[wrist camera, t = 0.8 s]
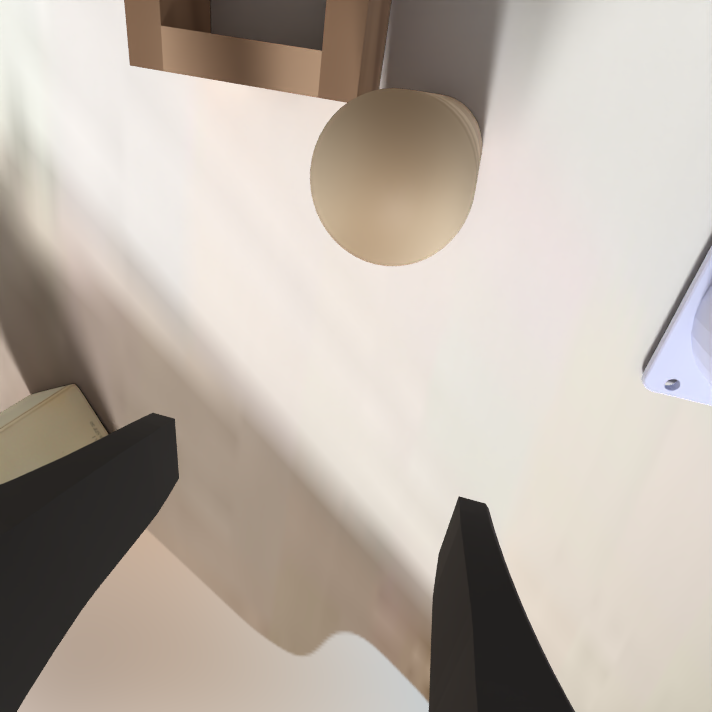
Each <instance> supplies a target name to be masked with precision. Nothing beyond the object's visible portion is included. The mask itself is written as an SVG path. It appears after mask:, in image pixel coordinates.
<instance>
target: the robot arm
mask: <svg viewBox="0 0 712 712" xmlns="http://www.w3.org/2000/svg"><path fill="white" fill-rule="evenodd" d="M670 379H676V380H677V381H676V382H675V383H674V384H672V385H665V383H666V382H667V381H668V380H670ZM642 382H643V384H644V386H645V387H646V388H647V389H648V390H650V391H652V392H656V393H660V394H665V395H669V396H673V397H677V398H681V399H685V400H689V401H694V402H698V403H702V404H706V405H710V406H712V246H711V248H710V250H709V251H708V253H707V255H706V257H705V259H704V261H703V263H702V264H701V266H700V268H699V270H698V272H697V274H696V276H695V277H694V279H693V281H692V283H691V285H690V287H689V289H688V291H687V292H686V294H685V296H684V298H683V300H682V302H681V304H680V305H679V307H678V309H677V311H676V313H675V315H674V317H673V318H672V320H671V322H670V324H669V326H668V328H667V330H666V331H665V333H664V335H663V337H662V339H661V341H660V343H659V345H658V346H657V348H656V350H655V352H654V354H653V356H652V358H651V359H650V361H649V363H648V365H647V367H646V369H645V371H644V372H643V375H642ZM178 479H179V472H178V458H177V444H176V430H175V419H173V418H170V417H166V416H162V415H159V414H155V413H152V414H149V415H147V416H145V417H143V418H141V419H139V420H137V421H135V422H133V423H131V424H129V425H127V426H125V427H123V428H121V429H119V430H117V431H115V432H113V433H111V434H109V435H107V436H105V437H103V438H101V439H99V440H97V441H95V442H93V443H91V444H89V445H86V446H84V447H82V448H80V449H78V450H76V451H74V452H72V453H70V454H68V455H66V456H64V457H62V458H60V459H57V460H55V461H53V462H51V463H48V464H46V465H44V466H42V467H40V468H37V469H35V470H33V471H31V472H28V473H26V474H24V475H22V476H20V477H17V478H15V479H13V480H10V481H8V482H5V483H3V484H0V712H17V710H18V709H19V707H20V705H21V703H22V702H23V700H24V699H25V697H26V695H27V694H28V692H29V690H30V689H31V687H32V686H33V684H34V683H35V681H36V679H37V678H38V676H39V675H40V673H41V671H42V670H43V668H44V667H45V665H46V664H47V662H48V660H49V659H50V657H51V656H52V654H53V652H54V651H55V649H56V648H57V646H58V645H59V643H60V642H61V640H62V639H63V637H64V636H65V634H66V632H67V631H68V629H69V628H70V627H71V625H72V624H73V622H74V621H75V619H76V618H77V616H78V615H79V613H80V612H81V610H82V609H83V607H84V606H85V605H86V603H87V602H88V601H89V599H90V598H91V597H92V595H93V594H94V593H95V591H96V590H97V589H98V588H99V586H100V585H101V584H102V582H103V581H104V580H105V579H106V577H107V576H108V575H109V574H110V572H111V571H112V570H113V569H114V568H115V566H116V565H117V564H118V562H119V561H120V560H121V559H122V557H123V556H124V555H125V554H126V553H127V551H128V550H129V549H130V548H131V546H132V545H133V544H134V543H135V541H136V540H137V539H138V538H139V536H140V535H141V534H142V533H143V531H144V530H145V529H146V528H147V526H148V525H149V524H150V522H151V521H152V520H153V519H154V517H155V516H156V515H157V513H158V512H159V510H160V509H161V507H162V505H163V504H164V502H165V501H166V499H167V498H168V496H169V494H170V492H171V491H172V489H173V487H174V486H175V484H176V482H177V481H178ZM429 712H575V711H574V709H573V707H572V706H571V704H570V702H569V700H568V699H567V697H566V695H565V693H564V691H563V689H562V687H561V685H560V683H559V682H558V680H557V678H556V676H555V674H554V672H553V670H552V668H551V666H550V664H549V662H548V660H547V658H546V656H545V654H544V652H543V650H542V648H541V646H540V644H539V641H538V639H537V637H536V635H535V633H534V630H533V628H532V626H531V624H530V622H529V620H528V617H527V615H526V613H525V610H524V608H523V606H522V603H521V601H520V598H519V596H518V593H517V591H516V588H515V586H514V583H513V581H512V578H511V576H510V573H509V570H508V568H507V565H506V562H505V560H504V557H503V554H502V551H501V548H500V545H499V542H498V539H497V536H496V533H495V530H494V526H493V523H492V519H491V516H490V512H489V508H488V507H487V505H486V504H485V503H481V502H477V501H474V500H470V499H466V498H463V497H459V498H458V500H457V503H456V506H455V509H454V512H453V515H452V518H451V521H450V523H449V526H448V529H447V532H446V535H445V538H444V541H443V543H442V546H441V549H440V552H439V557H438V564H437V570H436V577H435V585H434V593H433V606H432V634H431V666H430V697H429Z"/></svg>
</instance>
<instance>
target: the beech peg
mask: <svg viewBox="0 0 712 712" xmlns="http://www.w3.org/2000/svg"><path fill="white" fill-rule="evenodd" d="M481 154H482V137H481V132H480V128H479V125H478V123H477V121H476V119H475V117H474V116H473V114H472V113H471V111H470V110H469V109H468V108H467V107H466V106H465V105H464V104H462V103H461V102H460V101H458V100H456V99H454V98H452V97H450V96H446V95H442V94H435V93H429V92H422V91H416V90H409V89H400V88H386V89H379V90H374V91H370V92H368V93H365V94H363V95H360V96H358V97H356V98H355V99H353V100H351V101H349V102H348V103H347V104H345V105H344V106H343V107H342V108H340V109H339V110H338V111H337V112H336V113H335V114H334V115H333V116H332V118H331V119H330V120H329V122H328V123H327V124H326V126H325V127H324V129H323V131H322V133H321V134H320V136H319V138H318V141H317V143H316V146H315V149H314V153H313V156H312V162H311V169H310V184H311V193H312V198H313V202H314V205H315V208H316V211H317V214H318V216H319V218H320V220H321V222H322V224H323V226H324V227H325V229H326V230H327V232H328V233H329V234H330V235H331V237H332V238H333V239H334V240H335V241H336V242H337V243H338V244H339V245H340V246H341V247H342V248H344V249H345V250H346V251H347V252H349V253H350V254H352V255H354V256H356V257H357V258H360V259H362V260H364V261H366V262H370V263H373V264H377V265H384V266H402V265H408V264H413V263H416V262H419V261H422V260H424V259H427V258H428V257H430V256H432V255H434V254H436V253H437V252H438V251H440V250H441V249H443V248H444V247H445V246H446V245H447V244H448V243H449V242H450V241H451V240H452V239H453V238H454V237H455V236H456V234H457V233H458V232H459V230H460V229H461V227H462V226H463V224H464V223H465V220H466V218H467V216H468V214H469V212H470V209H471V206H472V203H473V199H474V194H475V189H476V183H477V177H478V171H479V166H480V160H481Z"/></svg>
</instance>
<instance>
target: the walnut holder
mask: <svg viewBox="0 0 712 712" xmlns="http://www.w3.org/2000/svg"><path fill="white" fill-rule="evenodd" d="M391 1H392V0H326V10H325V22H324V33H323V45H322V51H320V50H314V49H308V48H301V47H295V46H288V45H282V44H275V43H269V42H263V41H256V40H250V39H243V38H237V37H231V36H224V35H218V34H211V15H210V0H124V3H125V14H126V25H127V37H128V48H129V59H130V65H131V66H137V67H143V68H148V69H154V70H160V71H166V72H172V73H178V74H183V75H189V76H195V77H201V78H207V79H213V80H218V81H224V82H230V83H236V84H242V85H248V86H254V87H259V88H265V89H271V90H277V91H283V92H289V93H294V94H300V95H306V96H312V97H318V98H324V99H329V100H335V101H341V102H347V103H348V102H349V101H351V100H353V99H355V98H356V97H358V96H360V95H363V94H365V93H368V92H370V91H374V90H379V85H380V78H381V71H382V64H383V57H384V50H385V43H386V36H387V29H388V22H389V15H390V8H391Z"/></svg>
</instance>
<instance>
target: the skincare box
mask: <svg viewBox="0 0 712 712" xmlns="http://www.w3.org/2000/svg"><path fill="white" fill-rule="evenodd" d="M107 435H109V434H108V433H107V431H106V430H105V428H104V427H103V425H102V424H101V422H100V420H99V419H98V417H97V416H96V414H95V412H94V411H93V409H92V408H91V406H90V405H89V403H88V401H87V400H86V398H85V397H84V395H83V394H82V392H81V391H80V389H79V388H78V387H77V386H76V385H75V384H71V385H67V386H62V387H58V388H54V389H50V390H46V391H42V392H38V393H35V394H31V395H29V396H27V397H26V398H24V399H23V400H21V401H19V402H18V403H16V404H14V405H13V406H11V407H9V408H8V409H6V410H4V411H3V412H1V413H0V484H3V483H5V482H8V481H10V480H13V479H15V478H17V477H20V476H22V475H24V474H26V473H28V472H31V471H33V470H35V469H37V468H40V467H42V466H44V465H46V464H48V463H51V462H53V461H55V460H57V459H60V458H62V457H64V456H66V455H68V454H70V453H72V452H74V451H76V450H78V449H80V448H82V447H84V446H86V445H89V444H91V443H93V442H95V441H97V440H99V439H101V438H103V437H105V436H107Z"/></svg>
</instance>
